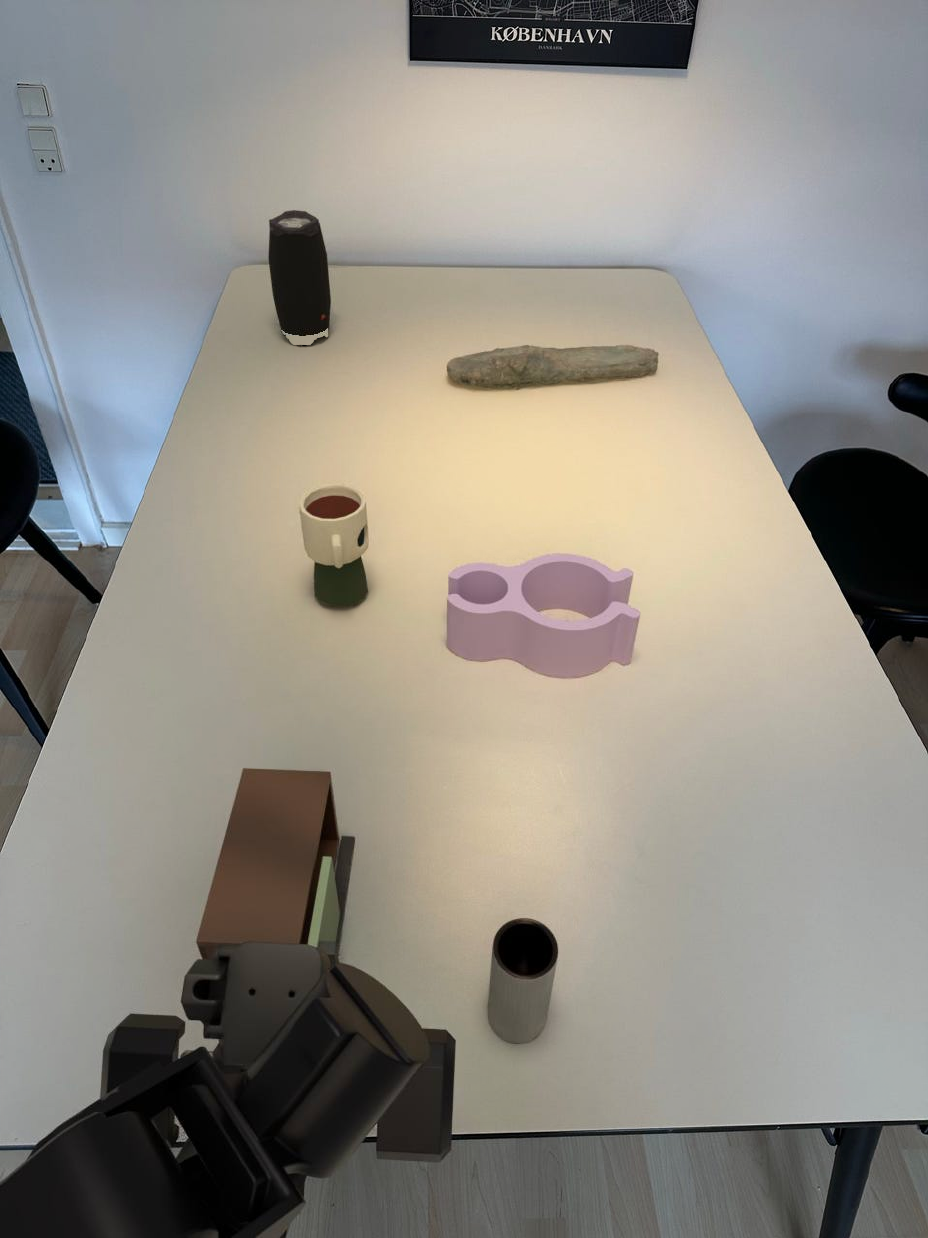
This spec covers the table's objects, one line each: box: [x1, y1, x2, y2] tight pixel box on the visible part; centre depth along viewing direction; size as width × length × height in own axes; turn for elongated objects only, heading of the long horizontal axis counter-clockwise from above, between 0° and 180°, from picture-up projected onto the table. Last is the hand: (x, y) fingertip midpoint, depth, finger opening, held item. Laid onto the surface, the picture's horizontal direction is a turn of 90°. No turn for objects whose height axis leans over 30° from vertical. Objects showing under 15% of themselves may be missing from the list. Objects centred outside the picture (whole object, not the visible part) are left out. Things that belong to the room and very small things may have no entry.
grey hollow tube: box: [487, 917, 559, 1044], centre depth 65 cm, size 4×4×10 cm
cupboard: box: [195, 767, 356, 959], centre depth 71 cm, size 15×9×10 cm, turn 178°
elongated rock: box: [446, 344, 660, 390], centre depth 144 cm, size 35×5×10 cm
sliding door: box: [308, 856, 340, 967], centre depth 68 cm, size 8×2×8 cm, turn 178°
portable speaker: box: [267, 209, 332, 336], centre depth 148 cm, size 9×9×20 cm
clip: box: [446, 552, 641, 679], centre depth 98 cm, size 20×12×7 cm, turn 88°
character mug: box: [298, 483, 370, 607], centre depth 100 cm, size 11×7×13 cm, turn 9°
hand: (309, 1025), depth 57 cm, fingers closed
